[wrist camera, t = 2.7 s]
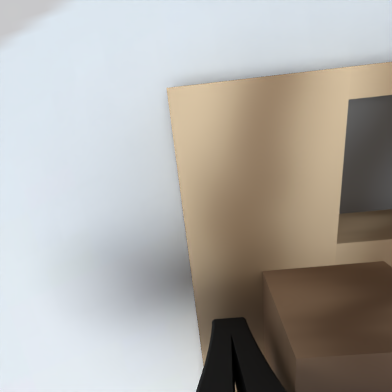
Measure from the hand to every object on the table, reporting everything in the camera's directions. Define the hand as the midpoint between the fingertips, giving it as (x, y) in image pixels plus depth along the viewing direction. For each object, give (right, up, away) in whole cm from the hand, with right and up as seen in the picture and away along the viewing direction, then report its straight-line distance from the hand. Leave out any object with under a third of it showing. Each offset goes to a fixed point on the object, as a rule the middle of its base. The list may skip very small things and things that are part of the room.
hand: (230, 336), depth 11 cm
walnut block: (+4, +1, +1) cm, 4 cm away
